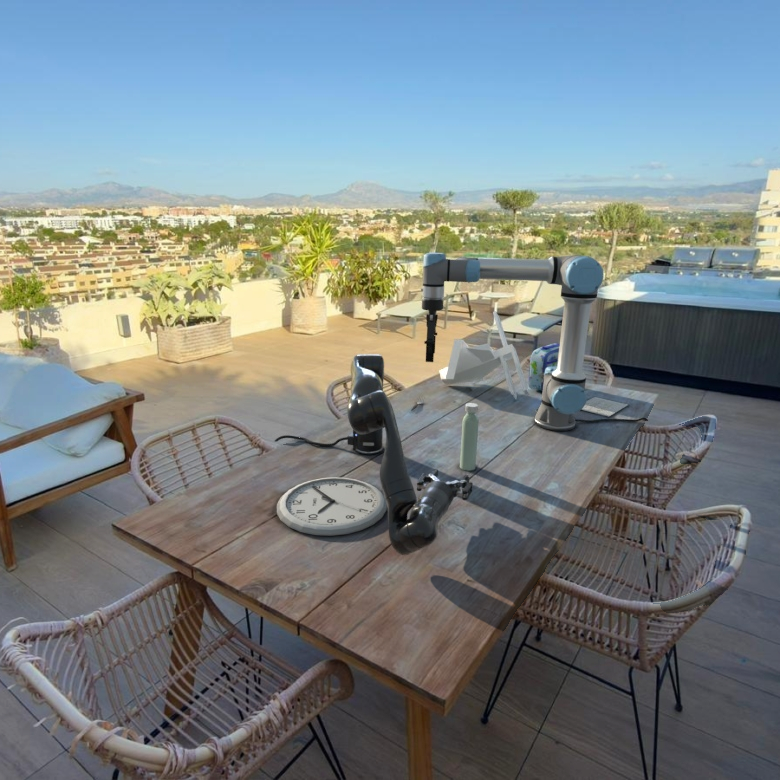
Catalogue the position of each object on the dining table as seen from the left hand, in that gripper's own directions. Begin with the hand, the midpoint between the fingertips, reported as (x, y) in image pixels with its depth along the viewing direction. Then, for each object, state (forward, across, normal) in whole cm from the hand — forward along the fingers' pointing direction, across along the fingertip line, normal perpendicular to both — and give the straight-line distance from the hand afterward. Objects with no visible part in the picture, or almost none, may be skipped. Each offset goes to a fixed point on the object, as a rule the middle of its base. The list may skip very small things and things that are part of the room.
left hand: (451, 475), depth 146 cm
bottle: (+21, 0, +7) cm, 22 cm away
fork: (+70, +34, +6) cm, 78 cm away
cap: (+21, 0, -14) cm, 25 cm away
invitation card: (+103, -39, +6) cm, 111 cm away
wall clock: (-17, +28, +7) cm, 34 cm away
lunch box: (+123, -15, +6) cm, 124 cm away
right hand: (+47, +22, -22) cm, 56 cm away
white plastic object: (+102, +14, +6) cm, 103 cm away
